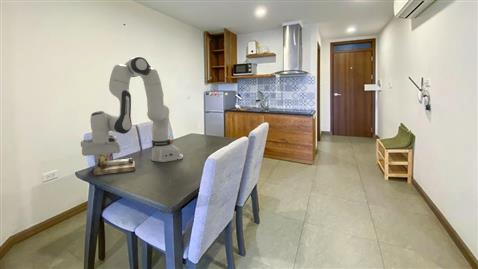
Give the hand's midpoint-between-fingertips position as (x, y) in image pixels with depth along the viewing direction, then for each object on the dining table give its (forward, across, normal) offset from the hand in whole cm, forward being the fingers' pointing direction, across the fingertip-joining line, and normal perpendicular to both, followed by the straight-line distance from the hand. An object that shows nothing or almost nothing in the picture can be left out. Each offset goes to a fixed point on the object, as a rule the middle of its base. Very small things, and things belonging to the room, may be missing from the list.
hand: (102, 161), depth 143 cm
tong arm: (+4, +5, +3) cm, 7 cm away
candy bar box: (+7, -1, +14) cm, 16 cm away
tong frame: (+4, +7, +5) cm, 9 cm away
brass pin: (+3, 0, 0) cm, 3 cm away
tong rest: (+7, +6, +2) cm, 9 cm away
